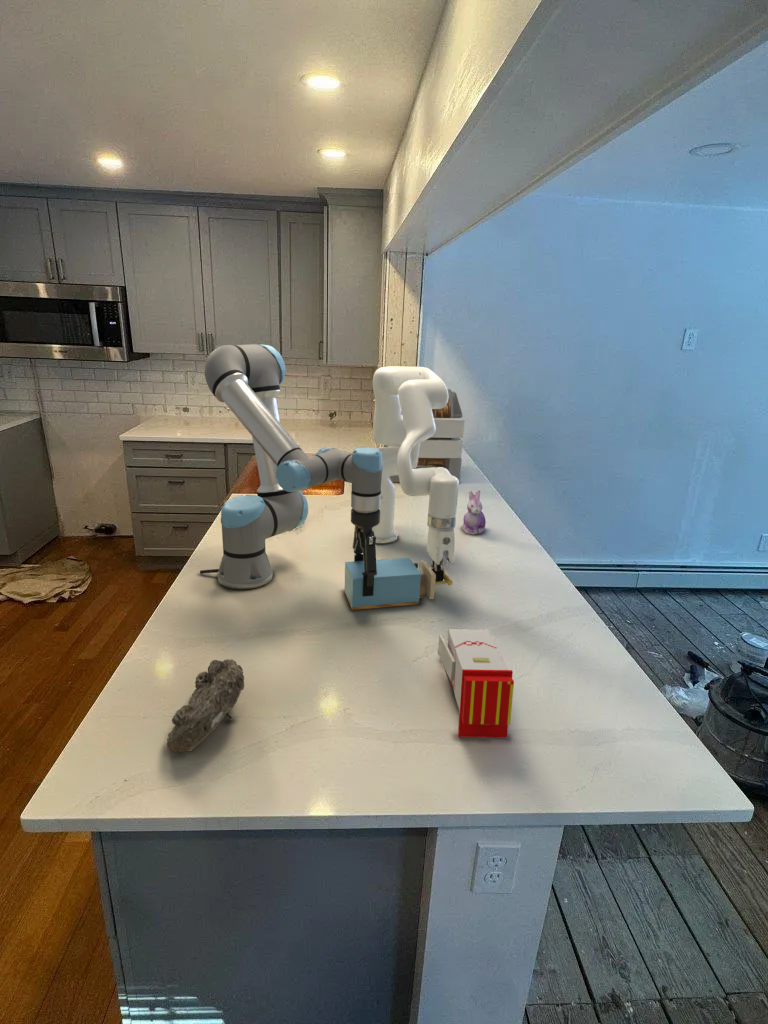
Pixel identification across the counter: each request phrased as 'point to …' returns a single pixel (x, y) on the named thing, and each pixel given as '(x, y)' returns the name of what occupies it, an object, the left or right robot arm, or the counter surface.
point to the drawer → (430, 580)
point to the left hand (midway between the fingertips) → (363, 585)
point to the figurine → (474, 515)
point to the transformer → (443, 439)
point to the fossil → (206, 705)
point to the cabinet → (383, 584)
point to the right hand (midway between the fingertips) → (436, 581)
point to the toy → (478, 682)
